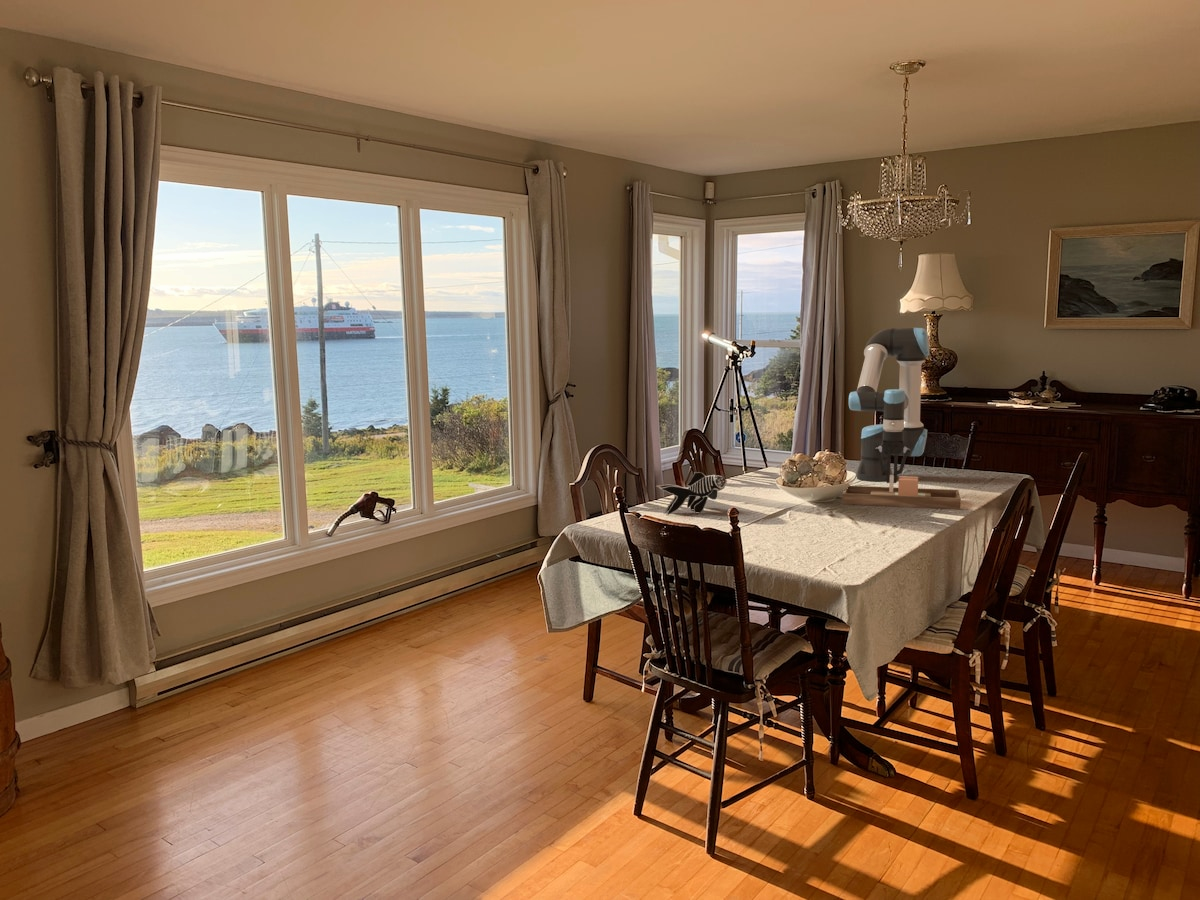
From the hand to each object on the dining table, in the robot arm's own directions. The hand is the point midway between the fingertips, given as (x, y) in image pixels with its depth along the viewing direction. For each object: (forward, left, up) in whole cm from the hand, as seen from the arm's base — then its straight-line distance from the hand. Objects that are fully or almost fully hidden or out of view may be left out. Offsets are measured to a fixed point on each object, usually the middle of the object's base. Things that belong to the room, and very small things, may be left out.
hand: (891, 491), depth 345 cm
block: (0, +6, -2) cm, 6 cm away
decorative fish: (+33, -70, -4) cm, 78 cm away
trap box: (0, +3, -4) cm, 5 cm away
